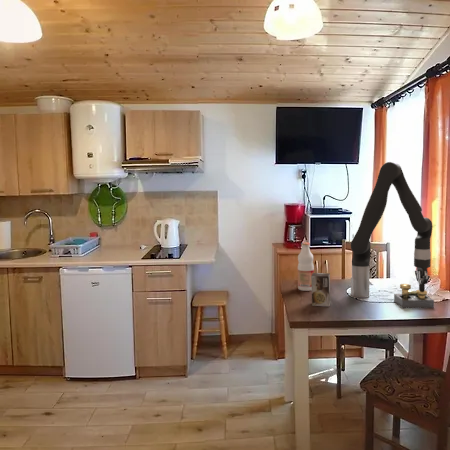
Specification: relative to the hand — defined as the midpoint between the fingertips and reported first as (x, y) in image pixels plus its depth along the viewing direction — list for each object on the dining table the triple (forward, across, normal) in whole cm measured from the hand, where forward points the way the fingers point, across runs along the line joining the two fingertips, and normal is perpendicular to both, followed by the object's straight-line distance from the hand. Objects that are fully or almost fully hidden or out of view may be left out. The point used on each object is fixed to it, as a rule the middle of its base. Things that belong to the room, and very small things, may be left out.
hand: (421, 291), depth 205 cm
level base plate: (+7, 0, -4) cm, 8 cm away
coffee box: (+7, -2, -50) cm, 51 cm away
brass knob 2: (+7, 0, 0) cm, 7 cm away
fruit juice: (+7, -32, -54) cm, 63 cm away
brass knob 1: (+4, 0, -8) cm, 9 cm away
